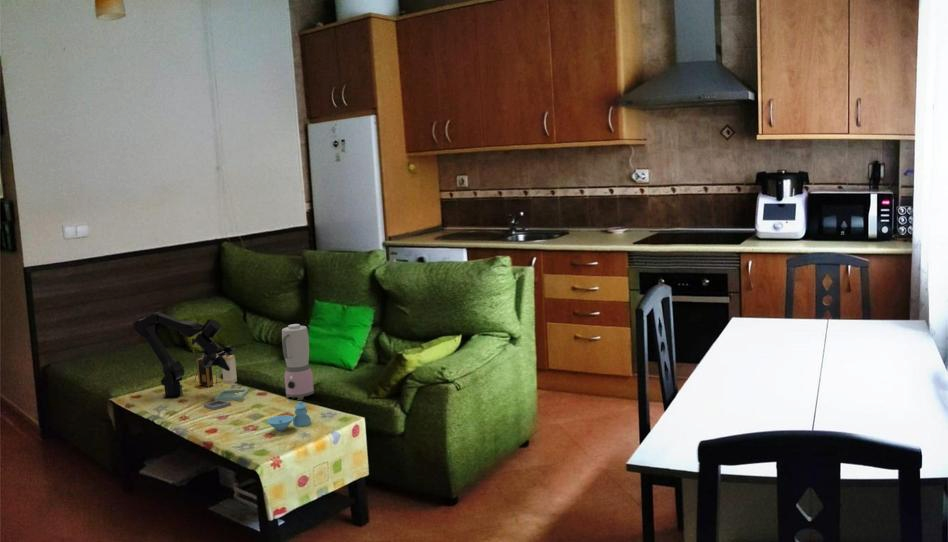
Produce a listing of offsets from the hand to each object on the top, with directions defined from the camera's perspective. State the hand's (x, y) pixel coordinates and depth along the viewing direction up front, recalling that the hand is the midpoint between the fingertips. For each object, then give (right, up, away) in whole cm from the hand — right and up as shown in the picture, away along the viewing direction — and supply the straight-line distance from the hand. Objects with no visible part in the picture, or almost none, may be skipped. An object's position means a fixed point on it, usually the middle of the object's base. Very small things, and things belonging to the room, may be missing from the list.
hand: (231, 369), depth 364 cm
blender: (+30, -12, -3) cm, 33 cm away
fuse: (-1, -6, +1) cm, 6 cm away
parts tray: (-1, -13, +2) cm, 13 cm away
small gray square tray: (-3, -15, -12) cm, 19 cm away
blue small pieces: (+36, -18, -45) cm, 60 cm away
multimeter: (-17, -11, +27) cm, 34 cm away
